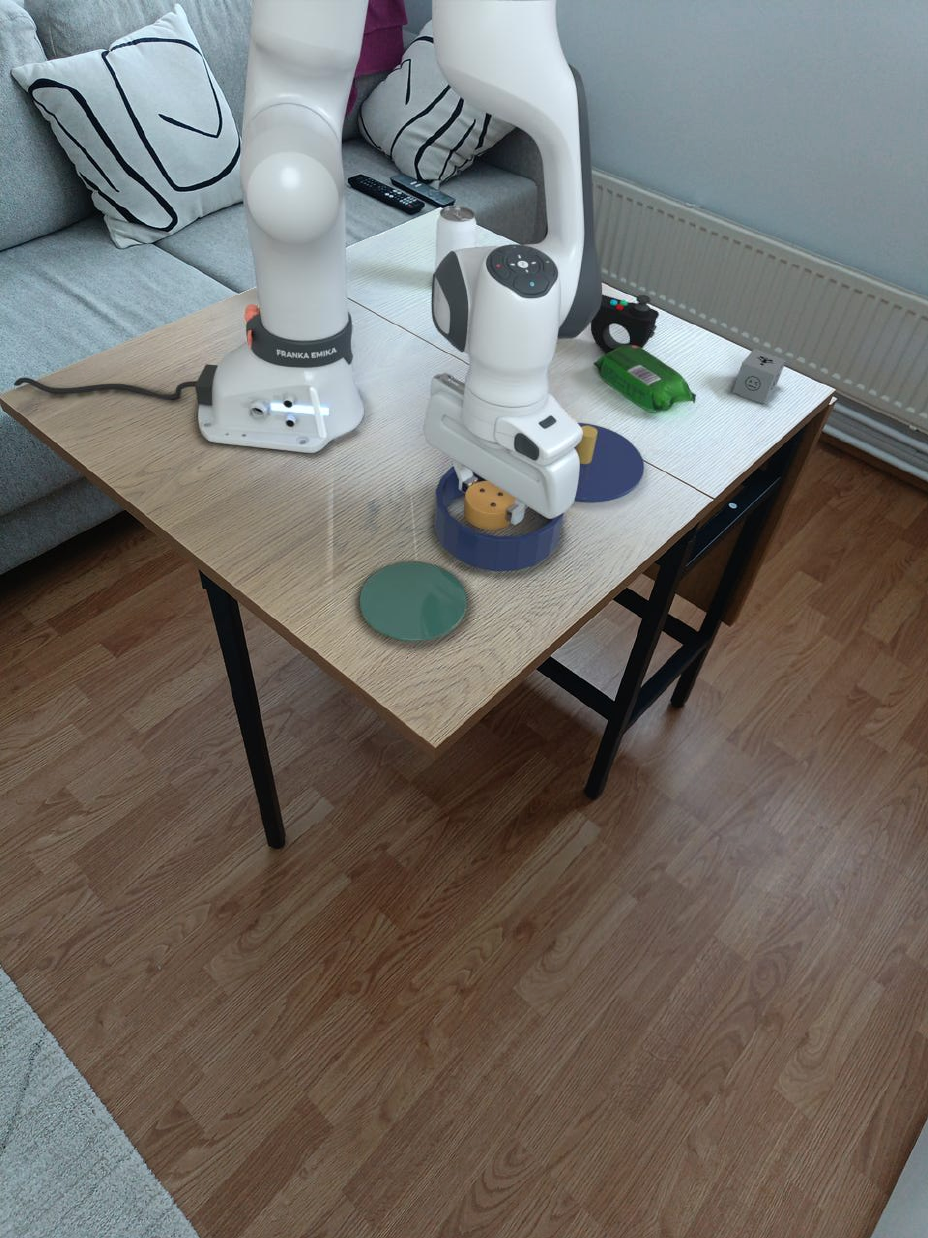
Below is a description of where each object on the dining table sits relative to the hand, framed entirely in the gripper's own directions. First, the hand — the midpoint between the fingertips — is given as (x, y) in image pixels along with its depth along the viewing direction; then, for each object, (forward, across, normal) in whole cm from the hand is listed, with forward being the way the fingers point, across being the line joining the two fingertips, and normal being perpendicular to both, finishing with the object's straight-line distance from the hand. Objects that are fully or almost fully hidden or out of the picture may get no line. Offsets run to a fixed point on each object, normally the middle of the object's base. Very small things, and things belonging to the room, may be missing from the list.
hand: (490, 505), depth 104 cm
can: (+5, -45, +44) cm, 63 cm away
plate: (+5, +2, -15) cm, 16 cm away
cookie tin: (+4, 0, +1) cm, 5 cm away
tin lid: (+4, 0, +19) cm, 20 cm away
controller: (+4, -14, +46) cm, 48 cm away
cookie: (+1, 0, 0) cm, 1 cm away
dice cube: (+4, +8, +53) cm, 54 cm away
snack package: (+4, -4, +39) cm, 40 cm away
